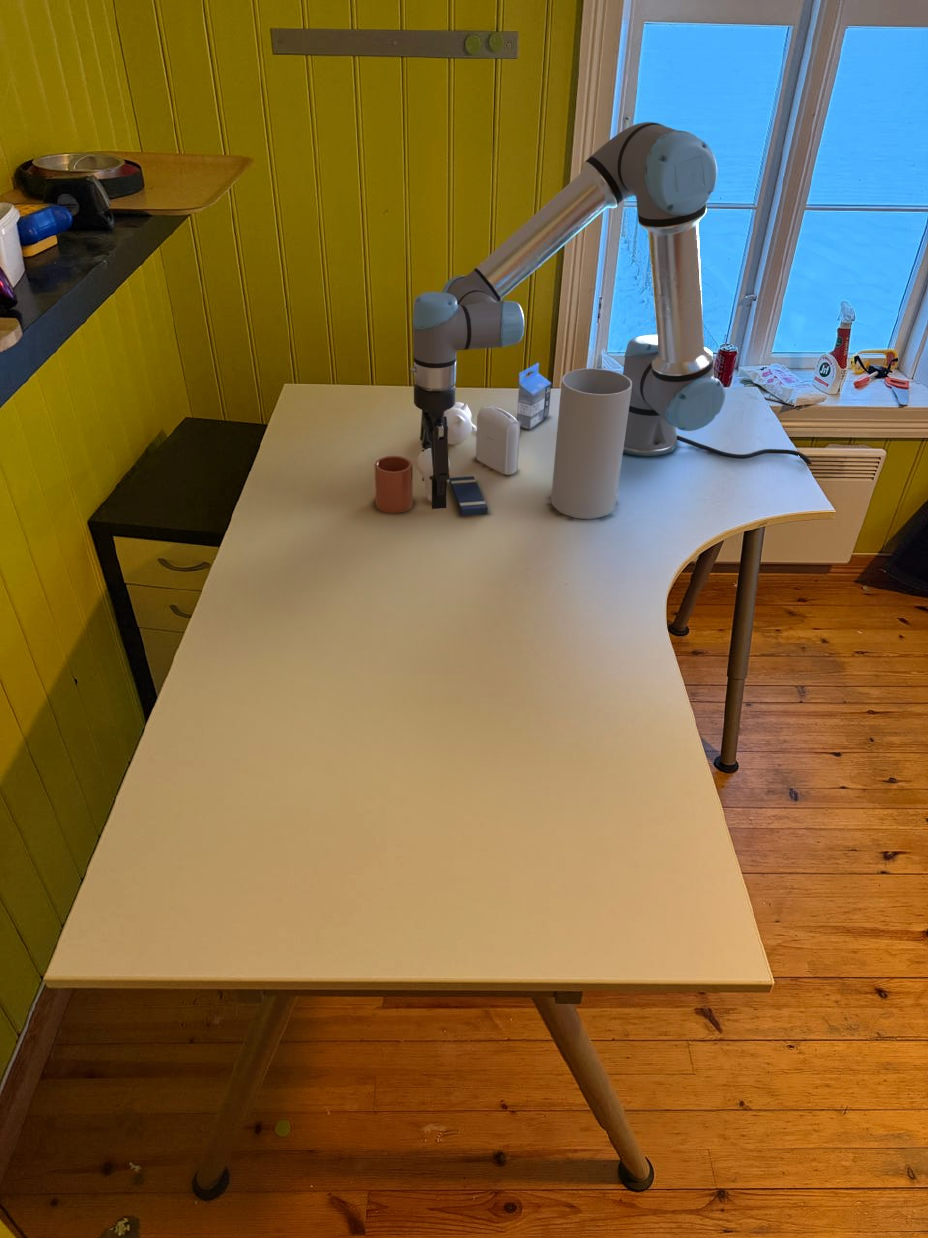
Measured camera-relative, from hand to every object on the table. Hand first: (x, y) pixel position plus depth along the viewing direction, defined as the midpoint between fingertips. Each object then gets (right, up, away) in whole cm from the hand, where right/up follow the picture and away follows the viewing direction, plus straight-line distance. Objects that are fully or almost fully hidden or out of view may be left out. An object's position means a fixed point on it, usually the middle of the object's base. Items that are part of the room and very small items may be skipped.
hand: (434, 493), depth 176 cm
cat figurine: (+5, +15, +24) cm, 28 cm away
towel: (+7, -1, +2) cm, 7 cm away
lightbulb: (0, -1, +1) cm, 2 cm away
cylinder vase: (+29, -2, +1) cm, 29 cm away
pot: (-8, -2, 0) cm, 8 cm away
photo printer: (+13, +8, +14) cm, 20 cm away
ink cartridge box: (+21, +21, +32) cm, 44 cm away
